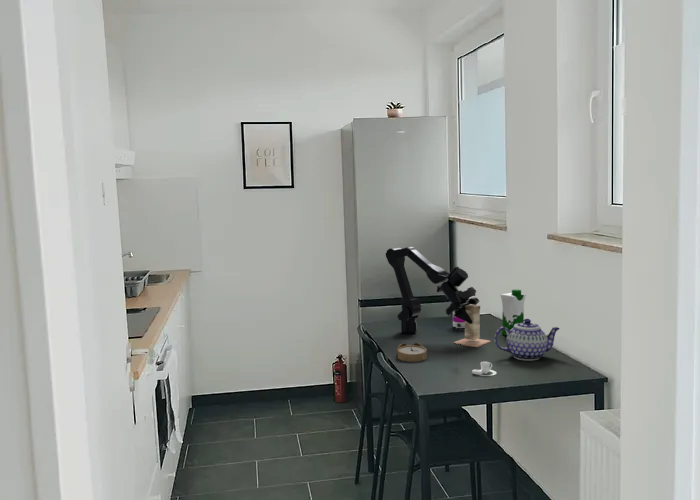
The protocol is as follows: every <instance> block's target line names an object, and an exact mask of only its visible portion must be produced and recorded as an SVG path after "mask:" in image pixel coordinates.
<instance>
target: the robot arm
mask: <svg viewBox="0 0 700 500" xmlns="http://www.w3.org/2000/svg"><path fill="white" fill-rule="evenodd" d="M406 257H408V258H409V259H410V260H411V261H412V262H413V263H415V265H417V266H418V267H419V268H420V269H421V270H422V271H424V272H425V274H426V276H427V279H428V280H430V282H431V283H432V284H434V285H436V284H440V285H437V286H436V293H440V292H442V293H443V294H444V296H445V297H446V298H447V299H446V301H447V303H451V304H450V305H449V306H448V307H447V308H446V309H445V315H447V317H451V316H452V317H453V316H455V317H458V318H460V319H462V320H464V321H466V322H468V323H470V324H472V323H473V322H472V320H471V319H470V317H469V315H468V314H467V312H466V308H465V306H466V305H469V304H472V305H478V304H479V303H480V300H479V298H478V297H475V296H477V295H476V293H477V290H476V289H475V288H474V287H473V286H470V287H468V288H466V290H464V291H462V290H459V289H458V287H460V286H461V285H463V283H464V282H465V281H466V280H467V279H468V278H469V274H468V273H467V271H465V270H464V269H462V268H460V267H459V266H455V267H454V268H453V270H452V271H451V272H448V271H447V270H445V269H444V268H443V267H441V266H438V265H435V264H433V263H432V262H431V261H430V260H429V259H428V258H426V257H425V256H424V255H423V254H421V252H419V250H417V249H416V248H415V247H414V246H406V247H404V248H401V247H393V248H388V249H387V250H386V252H385V258H386V261H387V263H388V264H389V265H390V266H391V268H392V269H393V272H394V275H395V278H396V280H397V284H398V288H399V292H400V294H401V298H402V301H401V311H400V312H399V313H398V314H397V319H398V321H400V334H403V335H406V334H407V335H408V334H411V335H415V334H416V332H417V331H418V330H417V329H418V327H417V326H418V325H417V324H418V322H417V321H416V319H418V318H419V315H420V313H421V311H422V305H421V301H420V299H419V298H418V297H417V298H416V297H415V296H414V293H413V291H412V288H411V284H410V281H409V277H408V274H407V271H406V269H405V262H406V261H405V260H406ZM469 297H470V299H469ZM466 301H467V302H466ZM453 311H454V313H455V314H454V315H453Z"/></svg>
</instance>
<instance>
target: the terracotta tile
mask: <svg viewBox="0 0 700 500" xmlns="http://www.w3.org/2000/svg"><path fill="white" fill-rule="evenodd" d="M454 343H456V344H455V345H460V344H461V346H466V347H472V348H479V347H481V346H483V345H487V344H489V343H491V340H489V339H482V338H479V339H476V340H469V339H465V337H464V338H461V339H459V340H456V341H453V344H454Z"/></svg>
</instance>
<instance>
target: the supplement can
mask: <svg viewBox="0 0 700 500" xmlns="http://www.w3.org/2000/svg"><path fill="white" fill-rule="evenodd" d="M470 298H471V297H469V299H470ZM466 302H467V301H466ZM452 314H453V315H454V314H455V313H454V311H453V312H452ZM453 315H452V327H456V328H455V329H457V328H465V321H464V320H462V319H460V318H458V317H455V316H453Z"/></svg>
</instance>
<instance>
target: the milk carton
mask: <svg viewBox="0 0 700 500" xmlns="http://www.w3.org/2000/svg"><path fill="white" fill-rule="evenodd" d="M500 299H501V305H502V306H501V307H502V309H501V310H502V313H501V314H502V321H501V322H502V324H501V327H506V328H507V329H508V330H509V331H510V330H511V329H512V328H513V327H514V325H515V324H518V323H525V322H524V319H525V313H524V312H525V309H524V308H525V306H524V305H525V300H526V294H523V293H522V290H521V289H511V292H509V293H508V292H507V293H501V294H500ZM501 335H503V336H507V333H506V331H505V330H504V329H502V330H501Z"/></svg>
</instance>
